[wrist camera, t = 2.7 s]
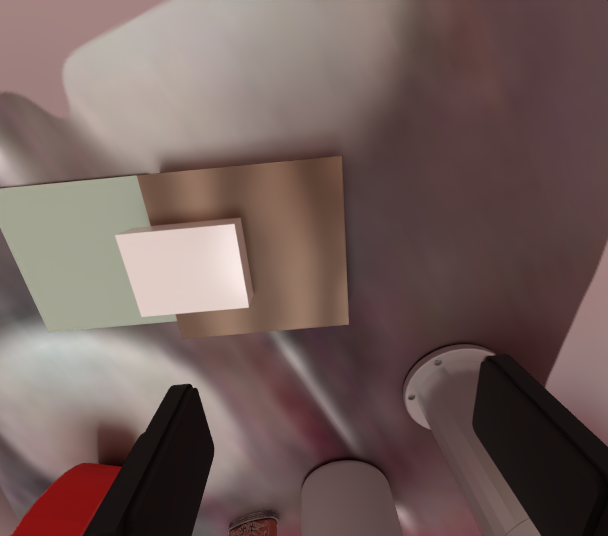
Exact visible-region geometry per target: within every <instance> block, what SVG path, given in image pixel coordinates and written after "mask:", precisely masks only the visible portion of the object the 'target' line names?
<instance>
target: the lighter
mask: <svg viewBox="0 0 608 536" xmlns="http://www.w3.org/2000/svg"><path fill="white" fill-rule="evenodd" d="M278 524H279V514H278V513H277V512H275V511H272V510H268V511H262V512H257V513H253V514H249V515H246V516H244V517H241V518H239V519H236V520H234V521H232V522H231V523H230V525H229V530H228V533H229V536H277V526H278Z"/></svg>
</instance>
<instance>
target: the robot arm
mask: <svg viewBox="0 0 608 536" xmlns="http://www.w3.org/2000/svg"><path fill="white" fill-rule="evenodd" d="M403 401H404V404H405V406H406V409H407V411H408V413H409V414H410V416H411V417H412V418H413V419H414V420H415V422H417V423H418V424H420V425H421V426H423V427H425V428H427V429H430V430H431V431H432V433H433V435H434V437H435V439H436V441H437V443H438V445H439V447H440V449H441V451H442V453H443V455H444V458H445V460H446V462H447V464H448V466H449V468H450V470H451V472H452V474H453V476H454V478H455V480H456V482H457V484H458V486H459V488H460V490H461V492H462V494H463V496H464V498H465V501H466V503H467V505H468V507H469V509H470V511H471V513H472V515H473V517H474V519H475V521H476V523H477V525H478V527H479V529H480V531H481V533H482V535H483V536H608V447H607V446H606V445H605V444H604V443H603V442H602V441H601V440H600V439H599V438H597V436H595V435H594V434H593V433H592V432H591V431H590V430H589V429H588V428H587V427H586V426H584V424H583V423H581V422H580V421H579V420H578V419H577V418H576V417H575V416H574V415H573V414H572V413H571V412H570V411H569V410H568V409H566V408H565V407H564V406H563V405H562V404H561V403H560V402H559V401H558V400H557V399H556V398H555V397H554V396H552V395H551V394H550V393H549V392H548V391H547V390H546V389H545V388H544V387H543V386H542V385H541V384H540V383H539V382H537V381H536V380H535V379H534V378H533V377H532V376H531V375H530V374H529V373H528V372H527V371H526V370H525V369H523V368H522V367H521V366H520V365H519V364H518V363H517V362H516V361H515V360H514V359H513V358H512V357H510V356H509V355H507V354H503V355H496V354H495V353H494V352H493V351H491V350H489V349H487V348H485V347H481V346H477V345H469V344H461V345H452V346H448V347H444V348H442V349H439V350H437V351H434V352H432V353H431V354H429V355H427V356H426V357H424V358H423V359H422V360H420V361H419V362H418V363H417V364H416V365H415V366H414V367H413V368H412V370H411V371H410V372H409V374H408V376H407V378H406V380H405V383H404V386H403ZM213 457H214V444H213V440H212V437H211V434H210V430H209V427H208V423H207V420H206V416H205V413H204V410H203V406H202V403H201V399H200V396H199V392H198V390H197V388H193V387H192V385H191V384H182V385H173V386H171V387H170V388H169V390H168V392H167V394H166V395H165V397H164V399H163V401H162V402H161V404H160V406H159V408H158V410H157V411H156V413H155V415H154V417H153V419H152V420H151V422H150V424H149V426H148V428H147V429H146V431H145V432H144V433H143V434H142V435H140V437H139V438H138V440H137V441H136V443H135V445H134V446H133V448H132V450H131V452H130V453H129V455H128V457H127V459H126V460H125V462H124V464H123V466H122V467H121V469H120V471H119V473H118V474H117V476H116V478H115V480H114V482H113V483H112V485H111V487H110V489H109V490H108V492H107V494H106V496H105V497H104V499H103V501H102V503H101V504H100V506H99V508H98V510H97V511H96V513H95V515H94V517H93V518H92V520H91V522H90V524H89V525H88V527H87V529H86V531H85V532H84V534H83V536H192V532H193V528H194V525H195V521H196V518H197V514H198V511H199V507H200V504H201V500H202V496H203V493H204V489H205V486H206V482H207V479H208V475H209V472H210V468H211V464H212V461H213Z"/></svg>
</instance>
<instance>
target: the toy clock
mask: <svg viewBox="0 0 608 536" xmlns="http://www.w3.org/2000/svg"><path fill="white" fill-rule="evenodd" d="M120 469H121V466H112V465H103V464H93V463H82V464H80V465H77V466H75V467H73V468H72V469H70V470H68V471H67V472H65V473H64V474H63V475H62V476H61V477H59V478H58V479H57V480H56V481H55V482H54V483H53V484H52V485H51V486H50V487H49V488H48V489H47V490H46V491H45V492H44V493H43V494H42V495H41V496H40V497H39V498H38V500H37V501H36V502H35V503H34V504H33V506H32V507H31V508H30V509H29V511H28V512H27V513H26V514H25V515H24V517H23V518H22V519H21V521H20V522H19V523H18V525H17V526H16V528H15V529H14V530H13V532H12V533H11V535H10V536H83V534H84V532H85V531H86V529H87V527H88V525H89V524H90V522H91V520H92V518H93V517H94V515H95V513H96V511H97V510H98V508H99V506H100V504H101V503H102V501H103V499H104V497H105V496H106V494H107V492H108V490H109V489H110V487H111V485H112V483H113V482H114V480H115V478H116V476H117V474H118V473H119V471H120Z"/></svg>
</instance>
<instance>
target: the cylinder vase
mask: <svg viewBox="0 0 608 536" xmlns="http://www.w3.org/2000/svg"><path fill="white" fill-rule="evenodd" d="M301 536H403V533H402V529H401V526H400V522H399V519H398V515H397V511H396V508H395V504H394V501H393V497H392V493H391V490H390V486H389V483H388V481H387V479H386V477H385V476H384V475H383V474H382V473H381V472H380V471H379V470H378V469H377V468H375V467H374V466H372V465H370V464H367V463H364V462H360V461H354V460H342V461H335V462H331V463H328V464H325V465H323V466H321V467H319V468H318V469H316V470H315V471H313V472H312V473H311V474H310V475H309V476H308V478H307V479H306V480H305V482H304V484H303V487H302V491H301Z"/></svg>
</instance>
